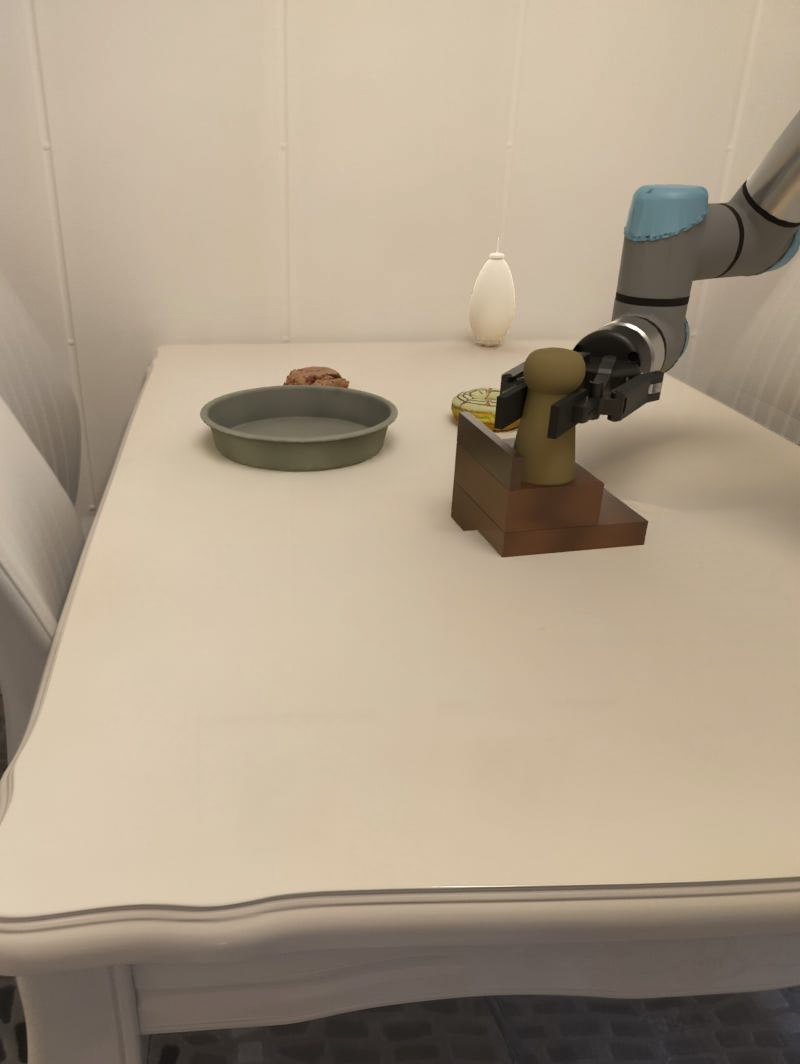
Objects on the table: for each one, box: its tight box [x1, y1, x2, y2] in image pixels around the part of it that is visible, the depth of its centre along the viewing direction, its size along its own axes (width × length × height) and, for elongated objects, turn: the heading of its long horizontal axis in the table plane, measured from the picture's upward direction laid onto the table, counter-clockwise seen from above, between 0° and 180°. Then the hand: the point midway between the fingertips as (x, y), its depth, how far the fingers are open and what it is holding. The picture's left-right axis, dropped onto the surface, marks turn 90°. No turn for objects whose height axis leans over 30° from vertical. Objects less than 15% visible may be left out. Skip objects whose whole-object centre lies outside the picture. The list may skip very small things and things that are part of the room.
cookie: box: [282, 365, 350, 388], centre depth 138 cm, size 10×11×3 cm
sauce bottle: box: [468, 236, 517, 347], centre depth 161 cm, size 8×8×18 cm
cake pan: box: [199, 384, 399, 471], centre depth 115 cm, size 25×25×4 cm
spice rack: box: [450, 412, 649, 558], centre depth 88 cm, size 14×14×11 cm
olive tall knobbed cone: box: [513, 346, 586, 485], centre depth 81 cm, size 6×6×11 cm
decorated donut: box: [450, 387, 520, 432], centre depth 124 cm, size 10×11×4 cm
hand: (526, 417), depth 76 cm, fingers closed on olive tall knobbed cone, 4 cm apart
